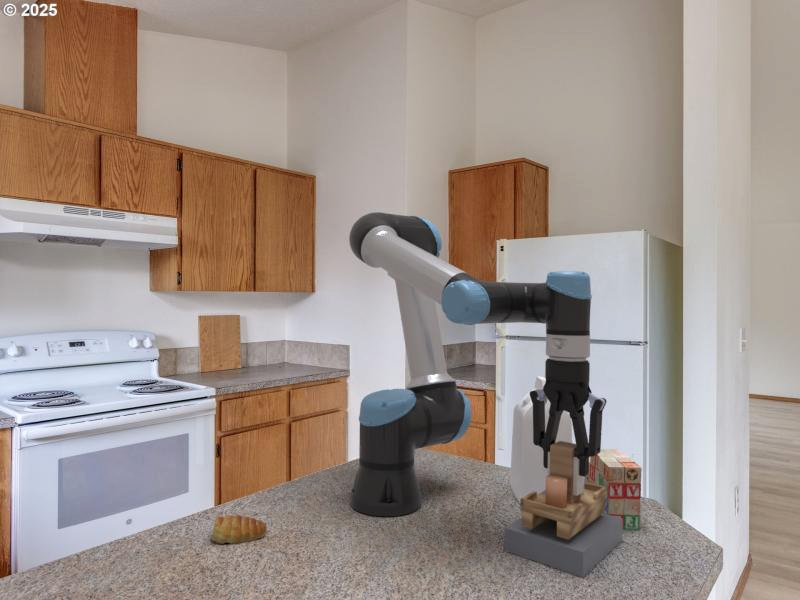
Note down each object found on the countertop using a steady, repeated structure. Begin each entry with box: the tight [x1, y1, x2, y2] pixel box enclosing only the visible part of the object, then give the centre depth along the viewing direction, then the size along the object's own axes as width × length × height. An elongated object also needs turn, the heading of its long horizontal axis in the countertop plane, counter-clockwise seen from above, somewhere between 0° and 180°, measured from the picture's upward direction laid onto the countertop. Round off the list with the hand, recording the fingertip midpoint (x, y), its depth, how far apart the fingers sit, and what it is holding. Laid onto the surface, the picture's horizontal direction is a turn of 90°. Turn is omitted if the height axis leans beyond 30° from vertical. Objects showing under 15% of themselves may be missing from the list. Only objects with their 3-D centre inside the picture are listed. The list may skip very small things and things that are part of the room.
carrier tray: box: [519, 441, 607, 540], centre depth 100 cm, size 16×9×13 cm, turn 140°
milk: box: [509, 375, 573, 503], centre depth 126 cm, size 12×12×26 cm
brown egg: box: [545, 475, 567, 508], centre depth 97 cm, size 4×4×4 cm
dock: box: [503, 513, 624, 578], centre depth 100 cm, size 14×18×4 cm
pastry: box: [211, 514, 267, 545], centre depth 102 cm, size 9×7×4 cm
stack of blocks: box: [584, 448, 643, 531], centre depth 118 cm, size 21×6×12 cm, turn 177°
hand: (565, 489), depth 100 cm, fingers closed on carrier tray, 4 cm apart
